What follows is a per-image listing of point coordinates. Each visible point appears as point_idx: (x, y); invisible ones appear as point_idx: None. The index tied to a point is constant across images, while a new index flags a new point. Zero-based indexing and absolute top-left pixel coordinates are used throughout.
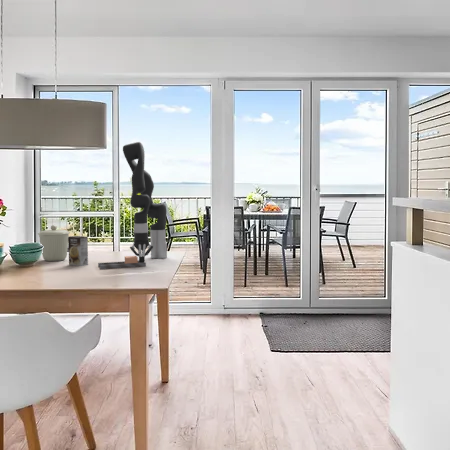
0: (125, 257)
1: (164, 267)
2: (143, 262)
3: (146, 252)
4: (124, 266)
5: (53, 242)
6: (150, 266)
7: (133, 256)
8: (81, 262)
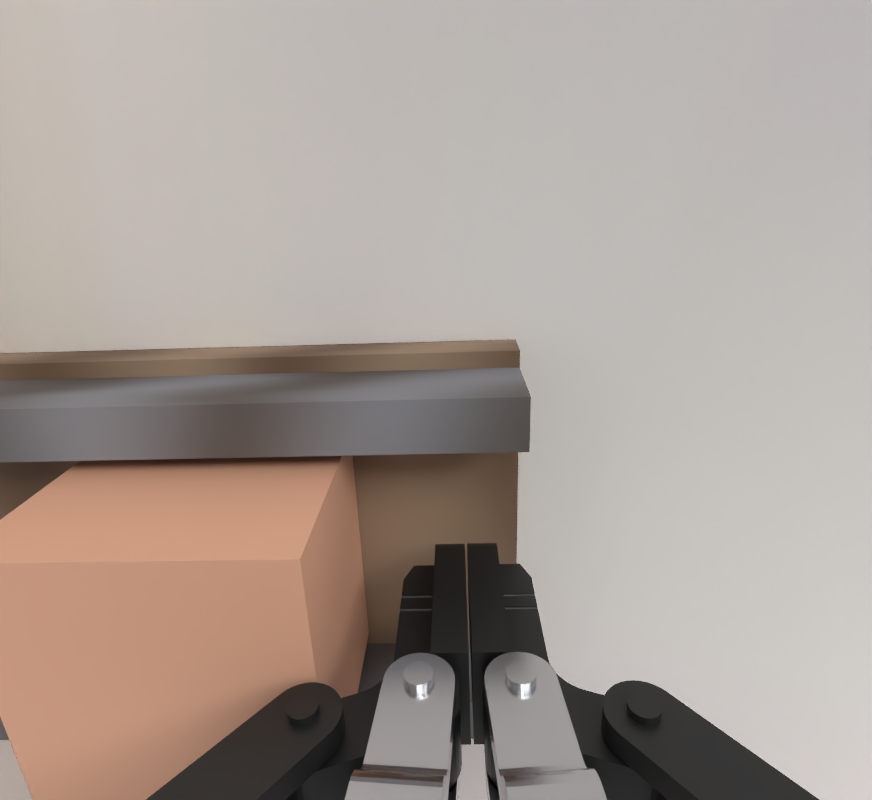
0: (3, 692)
1: (834, 679)
2: None
3: (670, 772)
4: None
5: None
6: (642, 499)
7: (226, 677)
8: None
